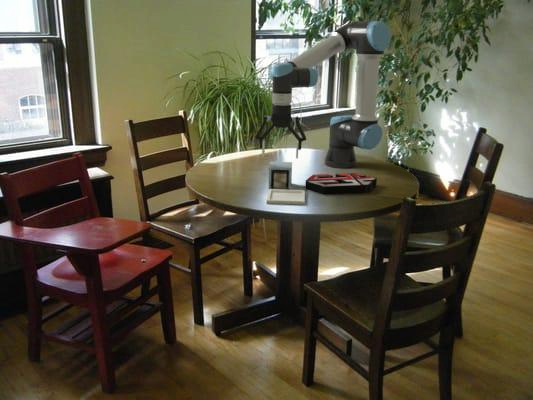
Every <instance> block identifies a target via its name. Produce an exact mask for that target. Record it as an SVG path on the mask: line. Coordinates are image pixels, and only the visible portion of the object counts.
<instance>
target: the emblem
mask: <svg viewBox="0 0 533 400" xmlns="http://www.w3.org/2000/svg"><path fill="white" fill-rule="evenodd" d="M334 176H335V177H334ZM377 181H378V178H377V177H374V176H367V175H365V174H362V173H357V172H353V173H352V172H350V173H349V172H348V173H347V172H346V173H345V172H344V173H335V175H332V174H328V173H324V174H323V173H321V174H319V173H317V174H312V175H311V176H309V177H308V178H307V179H306V180H305V186H304V188H306V189H307V191H309V190H310V192H312V193H316V194H319V195H322V196H332V195H335V196H336V195H354V194H355V195H356V194H359V195H361V194H369V193H371V192H372V191H373V190H374V189H376V187H377V184H378V183H377ZM306 189H305V190H306Z"/></svg>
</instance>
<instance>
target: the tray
mask: <svg viewBox="0 0 533 400" xmlns="http://www.w3.org/2000/svg"><path fill="white" fill-rule="evenodd" d="M305 190H306V189H291V190H289V189H284V188H273V189H272V188H271V189H269V188H268V192H267V197H266V205H288V206H291V205H293V206H296V205H297V206H305V203H306V201H305V198H306V197H305V196H306V195H305Z"/></svg>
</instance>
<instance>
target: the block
mask: <svg viewBox="0 0 533 400" xmlns="http://www.w3.org/2000/svg"><path fill="white" fill-rule="evenodd" d="M287 185H288V184H287V171H274V183H273V188H274V187H278V188H277V189H287Z"/></svg>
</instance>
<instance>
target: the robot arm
mask: <svg viewBox="0 0 533 400" xmlns="http://www.w3.org/2000/svg"><path fill="white" fill-rule="evenodd" d="M391 40H392V33H391V29H390V28H389V27H388V25H387V23H384V22H382V21H376V20H371V21H369V20H367V21H365V20H361V21H360V20H355V21H351V22H349V23H347V24H344V25H343V26H341V27H339V28H337V29H335V30H334V31H332V32H330V34H329V36H328V37H326V39H324V40H322V41H320V42H319V43H317V44H316V45H314V46H312V47H310V48H309V49H307V50H305V51H304V52H302V53H301V54H299V55H297V56H295V57H294V58H292V59H290V60H289V61H287V62H275V64H273V66H272V67H271V69H270V71H269V76H270V79H271V81H272V96H271V97H272V98H271V100H272V102H271V103H272V107H271V116H268V115H267V114H265V115H264V116H263V122H262V123H261V125H260V127H259V130H258V131H257V133H256V134H255V136H254V139H255V140H258V141H259V149H261V151H262V152H261V157H262V158H264V157H265V153H266V152H265V151H266V149H265V148H266V147H265V146H266V143H265V142H266V141H265V138H266V137H267V136H268V135H269V133H271V131H272V130H273V129H275V128H277V129H281V128H282V129H286V128H288V130H289V131H290V132H291V134H292V135H293V137H294V138H296V140H297V141H296V147H295V148H296V149H295V150H296V152H295V159H298V158H299V151H301V150H302V142H304V141H305V142H306V141H307V137H306V134H305V132H304V130H303V127H302V126H301V123H300V117H299V116H295V117H294V116H293V117H292V105H291V104H292V96H293V94H292V93H293V89H295V88H296V89H298V88H307V89H309V88H312V87H315V86H316V85H317V83H318V81H319V73H318V72H317V70H316V69H315V67H317V66H318V65H320V64H322V63H323V62H325V61H326V60H328V59H330V58H331V57H333V56H335V55H336V54H342V53H344V52H346V51H348V50H355V51H356V52H355V55H356V56H357V58H358V73H357V88H356V99H355V101H356V102H355V113H354V115H351V114H350V115H337V116H332V117H331V118H330V122H329V123H330V124H329V139H328V141H329V144H328V150H327V151H326V155H325V158H324V165H326V166H327V167H331V168H337V169H348V168H349V169H350V168H355V167H357V163H358V162H357V161H358V160H357V156H356V153H355V152H356V151H355V147H356V148H358V149H362V150H373V149H375V148H376V147H377V146H378V145H379V144H380V142H381V141H382V139H383V128H382V127H381V125H380V124H379V118H378V116H376V107H377V106H376V105H377V96H378V81H379V73H380V72H379V69H380V60H381V58H382V57H383V56H384V54H385V50H387V49H388V48H389V46H390V44H391V43H392V42H391ZM269 121H271V125H270V126H269V127H268V128H267V129H266V130H265V132H263V133H262V131H263V129H264V128H265V126H266V124H267V123H268V122H269ZM292 121H293V123H295V125H296V127H297V129H298V132H299V133H300V135H299V134H298V132H297V131H296V130H295V128H293V126H292V125H291V122H292ZM261 133H262V135H261Z"/></svg>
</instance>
